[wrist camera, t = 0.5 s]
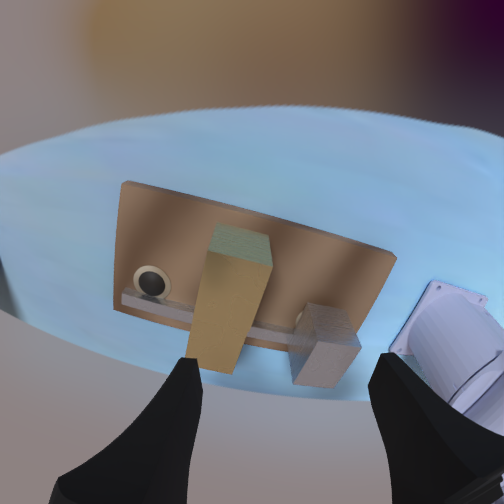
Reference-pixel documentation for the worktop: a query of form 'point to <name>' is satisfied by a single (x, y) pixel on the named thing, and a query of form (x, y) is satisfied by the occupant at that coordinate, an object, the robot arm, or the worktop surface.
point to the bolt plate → (279, 230)
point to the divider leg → (228, 296)
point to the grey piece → (285, 337)
